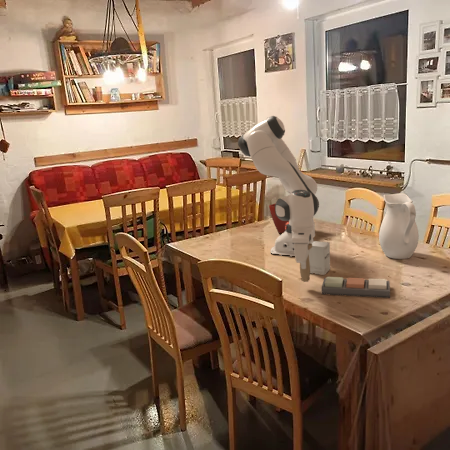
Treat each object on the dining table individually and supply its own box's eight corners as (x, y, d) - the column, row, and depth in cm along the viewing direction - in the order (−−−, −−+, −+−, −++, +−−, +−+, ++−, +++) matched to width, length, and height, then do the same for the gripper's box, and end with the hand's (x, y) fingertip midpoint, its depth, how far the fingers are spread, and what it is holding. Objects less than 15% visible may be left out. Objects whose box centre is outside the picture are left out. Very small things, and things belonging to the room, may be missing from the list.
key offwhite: (368, 290, 173) (368, 284, 173) (368, 283, 179) (368, 278, 179) (386, 291, 171) (386, 285, 171) (386, 284, 177) (386, 279, 177)
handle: (295, 280, 184) (293, 245, 180) (308, 277, 187) (307, 241, 183) (302, 284, 180) (300, 248, 176) (315, 280, 183) (314, 244, 179)
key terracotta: (346, 289, 176) (346, 283, 175) (347, 282, 182) (347, 277, 181) (364, 289, 174) (363, 284, 173) (364, 283, 180) (364, 278, 179)
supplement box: (324, 275, 196) (324, 247, 193) (308, 273, 200) (307, 245, 197) (330, 269, 202) (330, 242, 199) (314, 267, 206) (313, 240, 203)
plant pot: (269, 233, 265) (267, 205, 260) (290, 226, 277) (289, 198, 273) (295, 239, 251) (294, 208, 247) (316, 230, 263) (316, 201, 259)
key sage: (325, 288, 178) (325, 282, 178) (326, 281, 184) (326, 276, 184) (342, 288, 176) (342, 283, 176) (343, 282, 182) (343, 277, 182)
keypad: (321, 294, 177) (321, 288, 177) (324, 284, 187) (324, 278, 186) (389, 297, 170) (390, 291, 169) (389, 287, 179) (389, 280, 178)
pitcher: (374, 250, 222) (374, 194, 215) (410, 248, 221) (411, 191, 214) (390, 268, 198) (391, 204, 192) (430, 265, 198) (432, 202, 191)
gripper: (298, 225, 189) (300, 256, 192) (291, 240, 170) (292, 275, 173) (314, 224, 187) (315, 257, 190) (308, 240, 168) (309, 275, 172)
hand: (304, 265), depth 182 cm, fingers closed on handle, 4 cm apart
